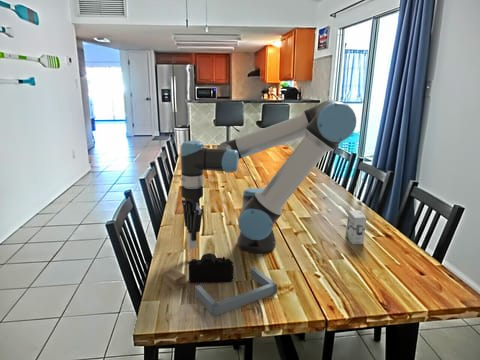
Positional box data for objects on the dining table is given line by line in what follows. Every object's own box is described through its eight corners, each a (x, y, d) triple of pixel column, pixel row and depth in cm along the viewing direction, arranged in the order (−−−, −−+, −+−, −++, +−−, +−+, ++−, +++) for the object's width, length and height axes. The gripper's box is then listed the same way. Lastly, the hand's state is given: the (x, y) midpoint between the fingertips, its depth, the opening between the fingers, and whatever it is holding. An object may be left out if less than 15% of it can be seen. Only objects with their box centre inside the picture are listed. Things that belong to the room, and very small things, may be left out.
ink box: (345, 235, 152) (347, 209, 149) (356, 235, 152) (359, 209, 149) (351, 244, 144) (354, 217, 140) (363, 244, 144) (367, 217, 141)
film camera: (232, 268, 123) (233, 245, 121) (233, 284, 114) (233, 259, 112) (189, 269, 123) (188, 245, 120) (186, 284, 113) (185, 259, 111)
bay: (254, 275, 119) (254, 267, 118) (276, 292, 110) (277, 284, 109) (195, 294, 108) (195, 286, 107) (214, 316, 98) (214, 307, 97)
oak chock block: (174, 279, 116) (174, 268, 115) (185, 286, 112) (185, 275, 111) (164, 283, 114) (163, 272, 113) (175, 291, 110) (174, 279, 109)
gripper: (174, 182, 127) (175, 242, 133) (190, 192, 116) (190, 257, 122) (193, 179, 131) (193, 238, 137) (210, 189, 120) (209, 252, 126)
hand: (192, 247), depth 130 cm, fingers closed
